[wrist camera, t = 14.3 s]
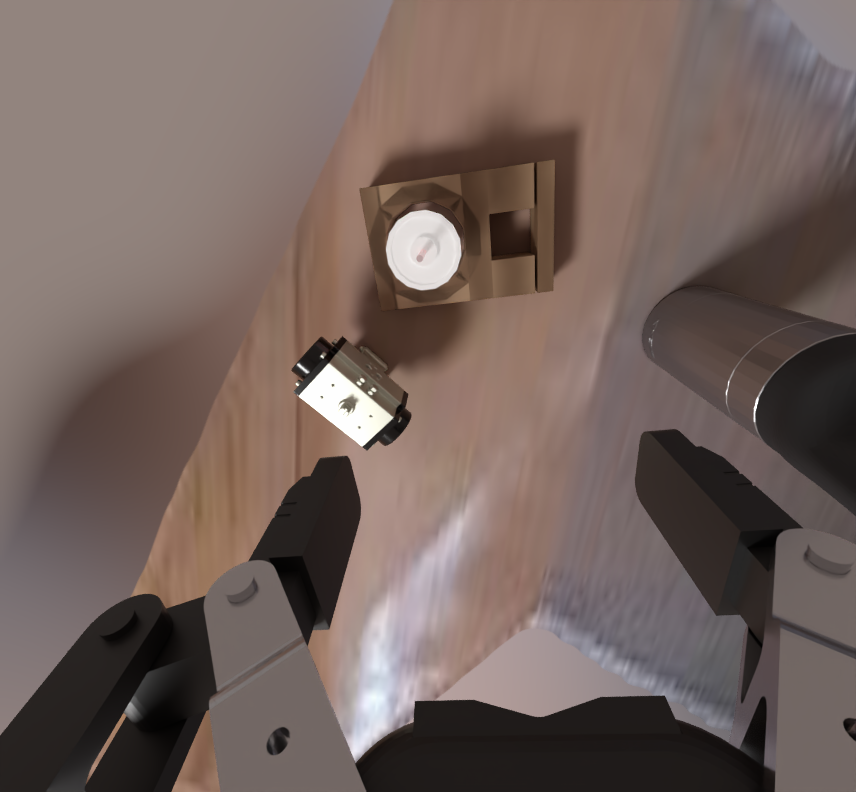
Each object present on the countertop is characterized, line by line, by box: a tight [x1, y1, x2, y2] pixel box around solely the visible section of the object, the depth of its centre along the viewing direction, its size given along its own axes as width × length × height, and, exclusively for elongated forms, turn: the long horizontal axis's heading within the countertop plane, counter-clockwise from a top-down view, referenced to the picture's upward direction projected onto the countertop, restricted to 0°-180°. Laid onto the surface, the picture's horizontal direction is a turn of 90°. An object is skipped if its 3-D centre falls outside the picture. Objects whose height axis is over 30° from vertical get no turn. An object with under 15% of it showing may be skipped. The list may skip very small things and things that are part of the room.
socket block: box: [359, 159, 555, 311], centre depth 37 cm, size 17×11×4 cm, turn 97°
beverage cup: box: [386, 210, 461, 290], centre depth 33 cm, size 6×6×14 cm
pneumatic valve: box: [291, 336, 411, 450], centre depth 40 cm, size 6×12×12 cm, turn 46°
